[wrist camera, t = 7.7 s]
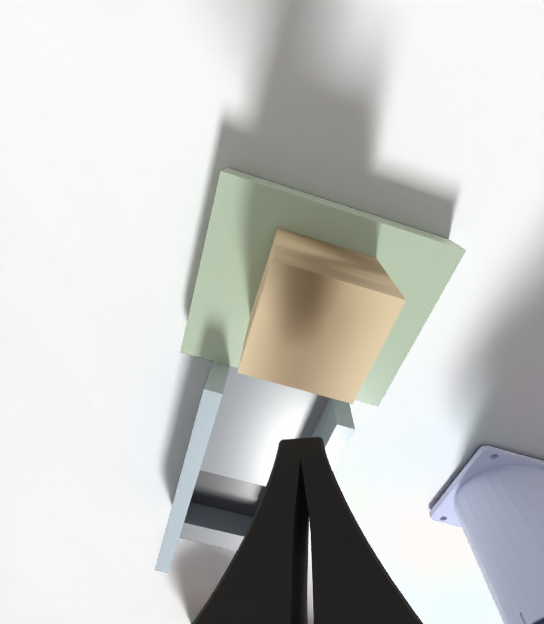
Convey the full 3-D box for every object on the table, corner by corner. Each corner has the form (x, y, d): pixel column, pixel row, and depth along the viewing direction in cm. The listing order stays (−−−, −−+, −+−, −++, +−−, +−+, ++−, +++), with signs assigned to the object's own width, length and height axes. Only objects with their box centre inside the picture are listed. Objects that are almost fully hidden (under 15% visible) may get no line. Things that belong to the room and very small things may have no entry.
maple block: (376, 257, 17) (406, 300, 13) (338, 342, 19) (352, 404, 15) (277, 226, 17) (272, 259, 12) (249, 316, 19) (237, 372, 15)
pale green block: (449, 239, 19) (492, 267, 15) (289, 538, 30) (289, 599, 26) (227, 167, 18) (208, 176, 14) (150, 505, 29) (128, 564, 25)
